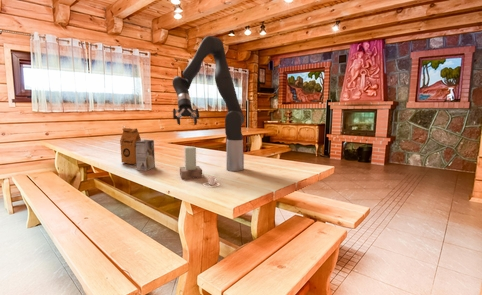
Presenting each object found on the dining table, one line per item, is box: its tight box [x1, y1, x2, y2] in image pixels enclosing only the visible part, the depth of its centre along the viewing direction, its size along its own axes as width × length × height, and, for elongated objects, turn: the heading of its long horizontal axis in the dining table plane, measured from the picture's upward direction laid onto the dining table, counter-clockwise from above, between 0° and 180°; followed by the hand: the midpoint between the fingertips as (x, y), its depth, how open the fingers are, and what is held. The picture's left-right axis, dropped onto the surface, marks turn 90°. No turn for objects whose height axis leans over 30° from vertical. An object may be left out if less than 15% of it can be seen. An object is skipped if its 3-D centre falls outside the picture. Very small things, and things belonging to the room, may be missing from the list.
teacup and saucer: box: [202, 175, 221, 188], centre depth 123 cm, size 9×8×4 cm
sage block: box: [184, 146, 197, 170], centre depth 135 cm, size 5×5×11 cm
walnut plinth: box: [179, 165, 203, 180], centre depth 136 cm, size 10×10×4 cm
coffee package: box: [119, 127, 142, 166], centre depth 163 cm, size 10×12×22 cm
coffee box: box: [135, 139, 156, 172], centre depth 150 cm, size 9×6×16 cm
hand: (187, 123), depth 144 cm, fingers open, 8 cm apart
